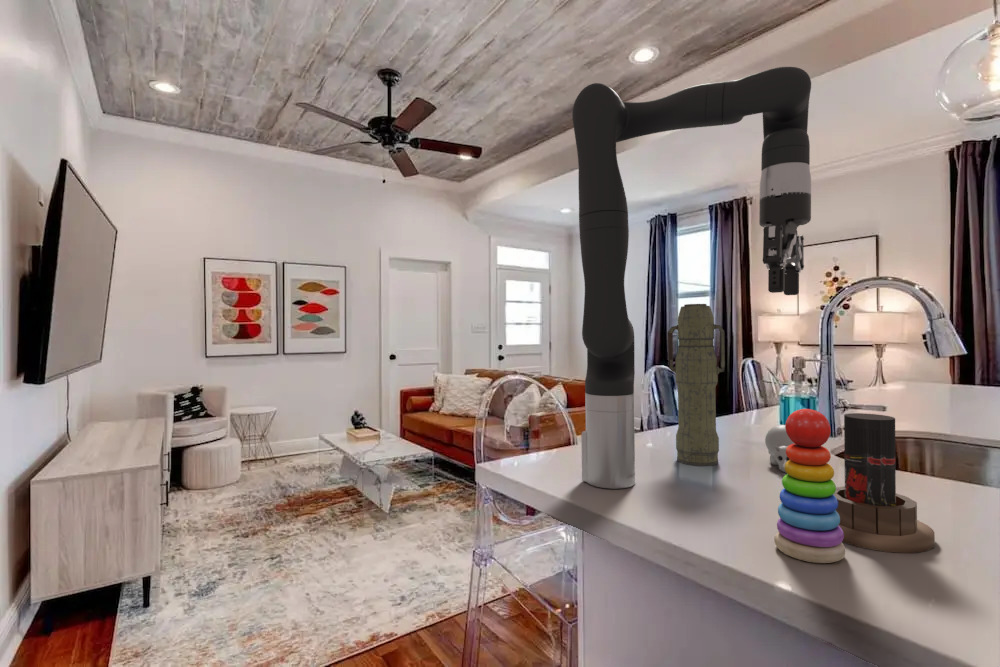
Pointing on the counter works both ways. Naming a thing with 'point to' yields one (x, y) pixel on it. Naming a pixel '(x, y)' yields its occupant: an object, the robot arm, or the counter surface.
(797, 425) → the stacking toy
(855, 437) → the deodorant
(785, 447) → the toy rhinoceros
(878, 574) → the counter surface
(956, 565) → the counter surface
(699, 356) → the thermos
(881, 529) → the socket stand
